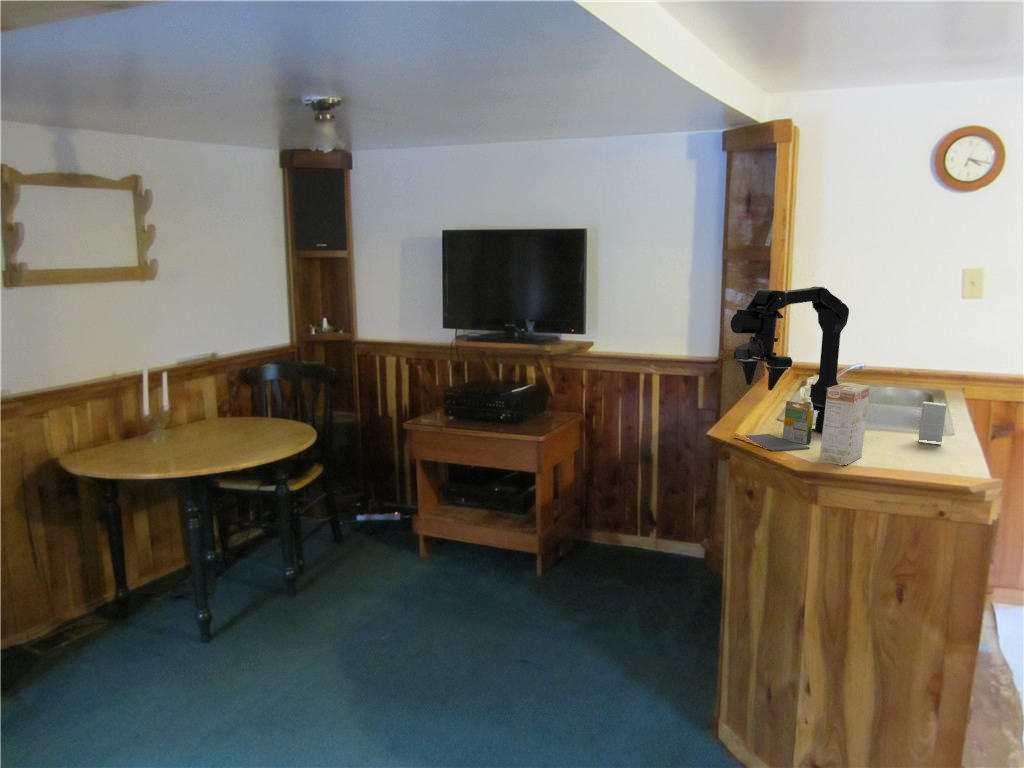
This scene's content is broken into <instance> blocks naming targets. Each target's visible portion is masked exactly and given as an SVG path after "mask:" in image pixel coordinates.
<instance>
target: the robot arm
mask: <svg viewBox="0 0 1024 768" xmlns="http://www.w3.org/2000/svg"><path fill="white" fill-rule="evenodd" d="M810 302H811V304H812V309H813V310H814V311H815V312H816V313H817V322H818V324H819V326H820V329H821V331H822V334H821V335H822V337H821V349H820V361H819V371H818V378H817V380H816V382H815V383H812V384H810V393H809V395H808V397H809V398H810V402H811V405H812V410H814V411H817V413H816V414H817V416H816V417H815V428H812V431H813V432H816V433H820V434H822V432H823V424H824V415H825V405H826V396H827V388H829V387H832V386H835V385H838V384H839V383H838V380H837V378H838V377H837V375H838V366H839V354H840V343H841V332H842V331H843V330H844V329H845V327H846V326H847V323H848V320H849V314H850V308H849V306H847V304H846V303H844V302H843V301H842V300H841V299H840V298H838V297H837V296H836V295H834V294H832V292H830V290H829V289H828V288H827V287H825V286H812V287H807V288H805V287H804V288H797V289H790V290H789V289H788V290H774V289H766V288H765V289H762V288H761V289H758V290H757V291H756V293H755V294H754V296H753V298H752V300H751V301H750V303H749V304H748V306H747V307H746V308H745V309H741V308H739V309H736V313H735V314H734V315H733V316H732V317H731V320H730V329H731V331H732V332H733V333H734V334H737V335H738V334H740V335H741V334H745V335H748V334H751V336H750V337H749V341H748V342H745V343H742V344H740V345H739V346H738V345H737V346H736V347H735V348H734V350H735V351H733V352H734V353H733V359H735V361H736V363H738V364H739V365H741V367H742V369H743V374H744V377H745V382H746V385H747V386H751V385H752V382H753V380H754V375H755V372H756V369H757V367H758V363H759V361H760V362H765V363H766V365H767V366H765V368H766V371H767V372H768V377H767V378H768V380H767V381H768V382H767V389H768V391H773V390H774V389H775V386H776V385H777V383H778V382H779V380H780V379H781V377H782V376H783V374H784V373H785V372H786V371H787V370H789V368H792V367H793V359H792V358H791V356H785V355H777V352H775V351H774V349H775V343H778V342H779V338H777V337H776V331H777V330H776V328H777V322H778V321H777V320H778V319H783V318H784V316H783V315H782V313H781V312H780V310H782V309H784V308H785V307H787V306H789V305H795V304H804V303H810Z"/></svg>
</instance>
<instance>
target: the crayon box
mask: <svg viewBox="0 0 1024 768" xmlns="http://www.w3.org/2000/svg"><path fill="white" fill-rule="evenodd" d="M794 405H798V406H801V407H797V406H794ZM810 407H811V404H807V403H802V402H796V401H795V402H794V401H790V400H786V401H785V412H784V421H783V428H782V431H783V432H782V438H783V439H786V440H789V441H792V442H795V443H798V444H801V445H804V446H807V445H809V444H811V443H812V434H813V432H812V431H813V430H812V429H813V422H814V411H815V410H813V409H811V408H810Z"/></svg>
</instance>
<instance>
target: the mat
mask: <svg viewBox="0 0 1024 768" xmlns="http://www.w3.org/2000/svg"><path fill="white" fill-rule="evenodd" d="M744 436H746V437H747V438H749V439H750V440H752V441H753V442H756V443H757V444H759V445H760V446H762V447H764V448H767V449H769V450H772V451H771V452H785V451H799V450H801V451H802V450H810V447H809V446H807V445H804V444H800V443H796V442H792V441H789V440H786V439H783V437H779V436H776V435H773V434H770V433H769V434H768V433H767V434H750V435H749V434H747V435H744ZM764 448H763V449H764ZM767 449H766V450H767ZM769 450H768V451H769Z"/></svg>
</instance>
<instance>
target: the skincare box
mask: <svg viewBox="0 0 1024 768" xmlns="http://www.w3.org/2000/svg"><path fill="white" fill-rule="evenodd" d="M946 411H947V405H946V403H942V402H929V401H922V406H921V415H920V422H919V431H918V437H919V440H927V441H936V442H942V441H943V434H944V427H945V419H946ZM942 443H943V442H942Z"/></svg>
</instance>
